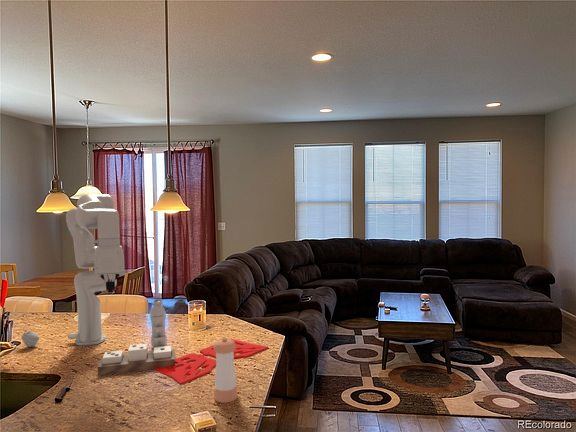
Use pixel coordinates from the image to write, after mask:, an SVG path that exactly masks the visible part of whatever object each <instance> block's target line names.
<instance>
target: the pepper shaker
mask: <svg viewBox="0 0 576 432" xmlns="http://www.w3.org/2000/svg"><path fill="white" fill-rule="evenodd" d="M213 345H214V347H213V348H214V349H213V350H214V351H215V352H216V358H215V360H216V366H215V373H214V387H213V399H214V401H216V402H218V403H222V404H225V403H231V402H234V401H235V400H237V398H238V386H237V374H236V369H235V361H234V360H235V359H234V354H233V351H234V350H235V348H236V345H235V343H234V341H232V340H230V338H226V337H223V338H221V339H219V340H216V341H215V343H214V344H213Z"/></svg>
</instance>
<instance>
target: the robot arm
mask: <svg viewBox="0 0 576 432" xmlns="http://www.w3.org/2000/svg"><path fill="white" fill-rule="evenodd" d="M76 206H77V207H74V208H71V209H69V210H68V211H67V212H66V215H65V221H66V225H67V229H68V231H69V233H70V235H71V237H72V240H73V249H74V250H73V252H74V257H75V258H74V259H75V264H76V266H77V268H79V269H94V270H84V271H80V272H79V273H77V274H75V276H74V278H73V283H74V290H75V295H76V305H77V306H76V307H77V310H76V311H77V329H78V331H77V332H76V333H68V334H67V339H69V340H74V344H75V345H76V346H80V347H81V346H82V347H83V346H93V345H98V344H101V343H103V342H104V341H106V339H107V338H106V335H104V334H103V332H102V330H103V329H102V308H101V307H102V306H101V299H100V298H99V297H98V295H96V294H95V293H97V292H101V291H102V292H103V291H107V293H108V294H109V293H113V292H114V291H115V289H116V287H117V284H118V283H117V282H118V281H117V279H118V278H120V277H123V276H125V275H126V271H125V269H126V268H125V267H126V266H125V256H124V249H123V246H122V245H121V237H120V235H121V234H120V232H121V231H120V214H119V211H118V210H117V209H115V208H114V207H115V201H114V199H113V197H112V196H111V195H110V194H105V193H104V194H103V193H102V194H100V193H97V194H96V193H95V194H94V193H93V194H84V195H81V196H80V197H79V198H78V200H77V202H76ZM94 229H95V230H97V239H96V240H95V237H94V234H92V233H91V232H90V230H94Z"/></svg>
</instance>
